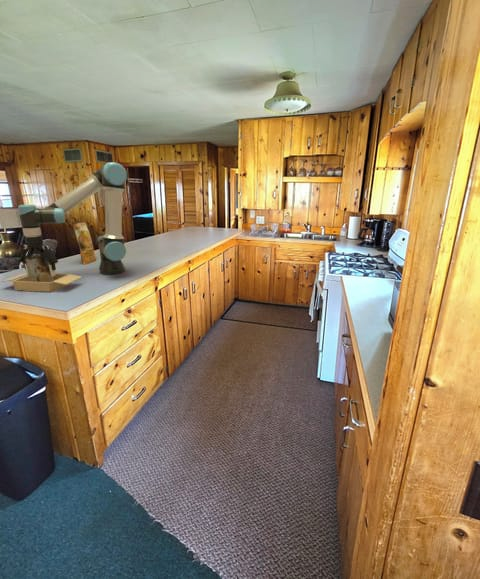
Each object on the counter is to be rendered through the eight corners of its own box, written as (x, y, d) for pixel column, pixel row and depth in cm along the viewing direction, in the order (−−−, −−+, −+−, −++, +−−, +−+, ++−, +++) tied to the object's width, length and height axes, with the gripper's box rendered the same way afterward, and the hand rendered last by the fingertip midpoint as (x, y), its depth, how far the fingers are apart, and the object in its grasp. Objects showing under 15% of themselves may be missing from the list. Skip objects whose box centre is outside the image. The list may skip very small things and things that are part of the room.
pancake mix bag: (75, 265, 204) (68, 224, 195) (90, 258, 222) (84, 221, 213) (85, 265, 204) (78, 224, 195) (99, 259, 222) (93, 221, 213)
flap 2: (52, 281, 151) (65, 284, 150) (69, 274, 163) (81, 276, 163) (52, 282, 151) (65, 284, 150) (69, 274, 163) (81, 277, 163)
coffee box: (49, 282, 165) (42, 254, 160) (55, 284, 162) (50, 255, 157) (31, 287, 157) (24, 257, 152) (38, 288, 154) (31, 259, 149)
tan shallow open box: (71, 282, 167) (70, 273, 165) (51, 292, 151) (49, 282, 149) (37, 281, 168) (35, 272, 167) (14, 290, 153) (11, 281, 151)
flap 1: (32, 272, 165) (21, 274, 166) (12, 279, 152) (0, 281, 153) (32, 273, 165) (21, 275, 166) (12, 280, 153) (1, 282, 154)
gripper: (60, 235, 153) (68, 274, 160) (16, 234, 155) (25, 272, 162) (50, 237, 146) (58, 278, 153) (4, 236, 148) (14, 276, 155)
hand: (41, 275), depth 158 cm, fingers open, 13 cm apart
